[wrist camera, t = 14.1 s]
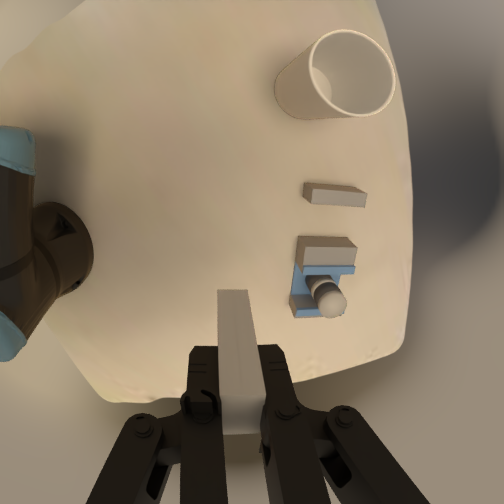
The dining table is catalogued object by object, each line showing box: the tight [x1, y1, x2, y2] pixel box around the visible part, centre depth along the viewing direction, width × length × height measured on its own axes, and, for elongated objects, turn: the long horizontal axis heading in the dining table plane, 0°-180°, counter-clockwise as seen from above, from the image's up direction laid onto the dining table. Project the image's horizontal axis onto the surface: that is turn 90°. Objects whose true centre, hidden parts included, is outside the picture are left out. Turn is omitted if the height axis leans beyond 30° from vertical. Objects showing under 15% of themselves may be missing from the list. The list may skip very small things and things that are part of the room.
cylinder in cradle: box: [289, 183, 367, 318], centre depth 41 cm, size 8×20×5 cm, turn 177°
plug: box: [305, 275, 347, 318], centre depth 41 cm, size 4×4×8 cm
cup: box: [274, 30, 395, 120], centre depth 26 cm, size 8×8×16 cm
